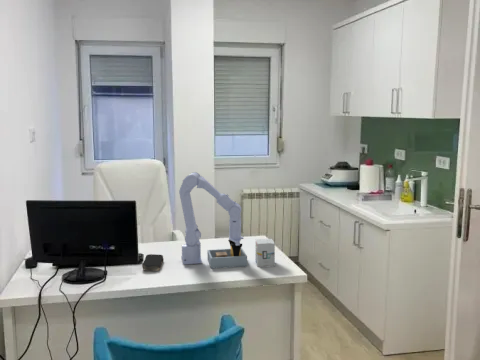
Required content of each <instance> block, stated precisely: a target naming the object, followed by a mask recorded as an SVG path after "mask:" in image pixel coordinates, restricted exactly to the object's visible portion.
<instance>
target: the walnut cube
mask: <svg viewBox="0 0 480 360" xmlns="http://www.w3.org/2000/svg"><path fill="white" fill-rule="evenodd" d="M216 257H227V253H226V252H216Z"/></svg>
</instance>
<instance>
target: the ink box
mask: <svg viewBox="0 0 480 360" xmlns="http://www.w3.org/2000/svg"><path fill="white" fill-rule="evenodd" d="M275 246H276V244H275V241H274V240H273V238H260V239H259V238H258V239H257V238H256V239H255V264H256V266H257V268H266V267H268V268H269V267H271V268H272V267H276V266H275V264H276V260H275V259H276V256H275V254H276V252H275V250H276V249H275Z"/></svg>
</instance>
